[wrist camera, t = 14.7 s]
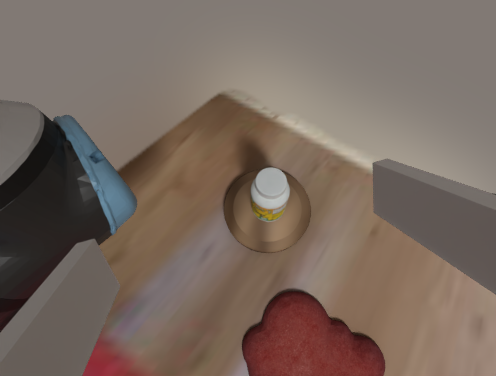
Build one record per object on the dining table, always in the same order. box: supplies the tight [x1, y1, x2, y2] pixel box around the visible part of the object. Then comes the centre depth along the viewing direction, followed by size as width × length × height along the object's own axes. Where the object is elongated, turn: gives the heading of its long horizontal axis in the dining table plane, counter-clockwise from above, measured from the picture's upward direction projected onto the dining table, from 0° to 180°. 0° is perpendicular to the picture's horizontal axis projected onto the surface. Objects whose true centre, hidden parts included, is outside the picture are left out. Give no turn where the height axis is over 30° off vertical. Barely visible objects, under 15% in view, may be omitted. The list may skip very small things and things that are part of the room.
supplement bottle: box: [251, 167, 290, 222], centre depth 35 cm, size 5×5×10 cm
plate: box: [224, 169, 311, 253], centre depth 40 cm, size 14×14×1 cm
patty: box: [242, 291, 385, 376], centre depth 32 cm, size 18×14×2 cm
